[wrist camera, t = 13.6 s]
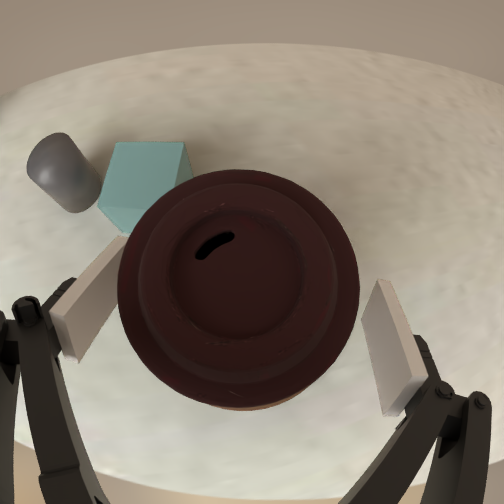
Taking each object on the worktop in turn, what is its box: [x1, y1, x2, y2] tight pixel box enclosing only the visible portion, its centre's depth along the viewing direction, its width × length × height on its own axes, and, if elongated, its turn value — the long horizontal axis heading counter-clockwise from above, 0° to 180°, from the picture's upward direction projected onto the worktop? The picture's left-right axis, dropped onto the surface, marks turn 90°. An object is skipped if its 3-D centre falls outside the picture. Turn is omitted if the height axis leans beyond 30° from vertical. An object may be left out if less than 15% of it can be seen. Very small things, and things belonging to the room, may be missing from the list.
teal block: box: [97, 142, 194, 233], centre depth 26 cm, size 6×6×6 cm
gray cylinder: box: [27, 133, 101, 213], centre depth 26 cm, size 5×5×7 cm
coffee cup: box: [117, 169, 360, 408], centre depth 18 cm, size 10×10×15 cm
